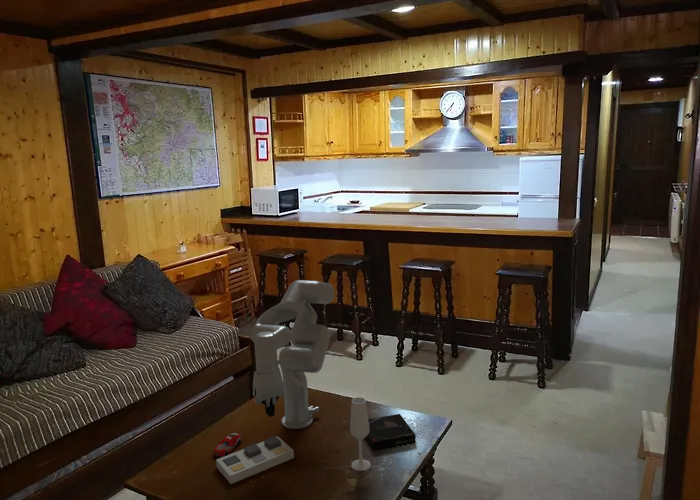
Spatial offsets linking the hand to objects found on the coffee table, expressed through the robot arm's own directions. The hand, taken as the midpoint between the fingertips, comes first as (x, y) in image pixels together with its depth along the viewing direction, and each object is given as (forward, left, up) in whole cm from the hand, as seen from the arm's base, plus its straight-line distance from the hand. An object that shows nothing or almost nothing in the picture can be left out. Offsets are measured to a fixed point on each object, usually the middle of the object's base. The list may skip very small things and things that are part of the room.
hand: (270, 414), depth 192 cm
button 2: (0, 0, -13) cm, 13 cm away
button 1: (+16, 0, -15) cm, 22 cm away
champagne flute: (-20, +26, -15) cm, 36 cm away
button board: (+8, +2, -15) cm, 17 cm away
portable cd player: (-39, +17, -15) cm, 45 cm away
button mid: (+8, 0, -13) cm, 15 cm away
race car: (+12, -13, -15) cm, 23 cm away
